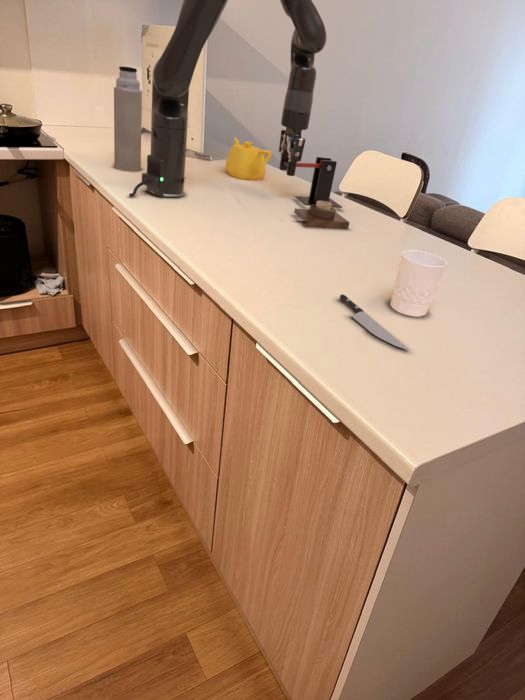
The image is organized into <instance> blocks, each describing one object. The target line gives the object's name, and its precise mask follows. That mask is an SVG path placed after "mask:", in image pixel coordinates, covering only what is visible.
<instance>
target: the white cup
mask: <svg viewBox="0 0 525 700" xmlns="http://www.w3.org/2000/svg"><path fill="white" fill-rule="evenodd" d="M447 265H448V263H447V261H446V260H445V258H442V257H441V256H439V255H436V254H434V253H430V252H428V251H423V250H416V249H407V250H403V251H402V252H401V255H400V259H399V264H398V267H397V272H396V276H395V280H394V284H393V289H392V296H391V300H390V303H389V304H390V307H391V308H392V309H393V310H394V311H396V312H398V314H399V313H400V314H402V315H405V316H409V317H418V318H419V317H424V316H425V315H427V313H428V310H429V308H430V305H431V302H432V301H433V300H434V297H435V295H436V292H437V290H438V287H439V285H440V283H441V280H442V277H443V274H444V272H445V270H446V267H447Z"/></svg>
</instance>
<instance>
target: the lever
mask: <svg viewBox="0 0 525 700" xmlns="http://www.w3.org/2000/svg"><path fill="white" fill-rule="evenodd" d="M288 162H289V161H287V160H283V162H282V163H283V165H285V166H286V167H287V168H288ZM320 166H321V161H320V163H316V162H297V164H296V168H313V169H314V168H319V169H320Z"/></svg>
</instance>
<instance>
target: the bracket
mask: <svg viewBox="0 0 525 700" xmlns="http://www.w3.org/2000/svg"><path fill="white" fill-rule="evenodd" d="M320 161H321V166H320V169H319V168H313V175H312V179H311V185H310V190H309V195H308V196H301V195H295V196H294V198H295V199H297V200H298V201H299V202H300V203H302V204H303V205H304V206H308V207H310V206H311V204H316V203H317V201H327V202H330V203H331V204H332V205H331V207H333V208H339V209H340V208H341V209H343V206H342V205H340V204H339V203H338V202H337V201H335V200H334V199H333V198H330V197H331V193H332V189H333V183H334V177H335V173H336V170H337V168H336V167H337V163H338V162H337V161H336V160H332V158H331V157H322V156H316V158H315V163H320Z"/></svg>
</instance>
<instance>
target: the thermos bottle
mask: <svg viewBox="0 0 525 700" xmlns="http://www.w3.org/2000/svg"><path fill="white" fill-rule="evenodd" d="M118 69H119V74H118V75H119V77H117V78H116V79H115V81H116V82H115V86H114V87H113V135H114V137H113V143H114V145H113V146H114V147H113V149H114V153H113V156H114V159H113V161H114V168H115V169H117V170H121V171H124V172H125V171H126V172H137V171H140V170H141V169H142V117H143V116H142V115H143V111H142V110H143V90H141V89H140V88H141V87H140V86H141V82H140V81H139V80H138V75H137V72H138V68H135V67H131V66H119V67H118Z"/></svg>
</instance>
